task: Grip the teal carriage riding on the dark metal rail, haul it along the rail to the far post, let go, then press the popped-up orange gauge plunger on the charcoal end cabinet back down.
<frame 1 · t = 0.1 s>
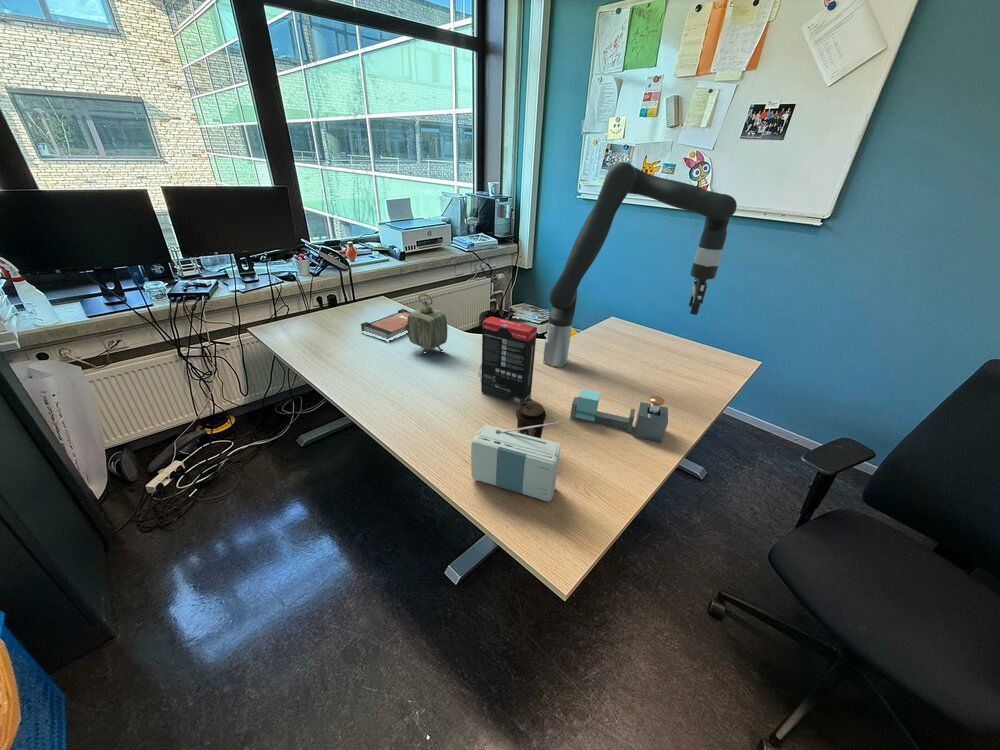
hand: (692, 310, 135), 29 cm above the table, fingers open, 8 cm apart
tabletop clock: (428, 352, 166), on the table
cabinet: (648, 433, 121), on the table
male figure: (491, 369, 155), on the table
graphics card box: (505, 396, 138), on the table
book: (396, 330, 187), on the table
rail: (600, 422, 125), on the table
plunger: (654, 409, 117), point 9 cm above the table, slide at 0.0 cm
carriage: (587, 404, 124), point 5 cm above the table, slide at 0.0 cm
coffee cup: (528, 445, 114), on the table
stereo radio cassette player: (513, 484, 101), on the table
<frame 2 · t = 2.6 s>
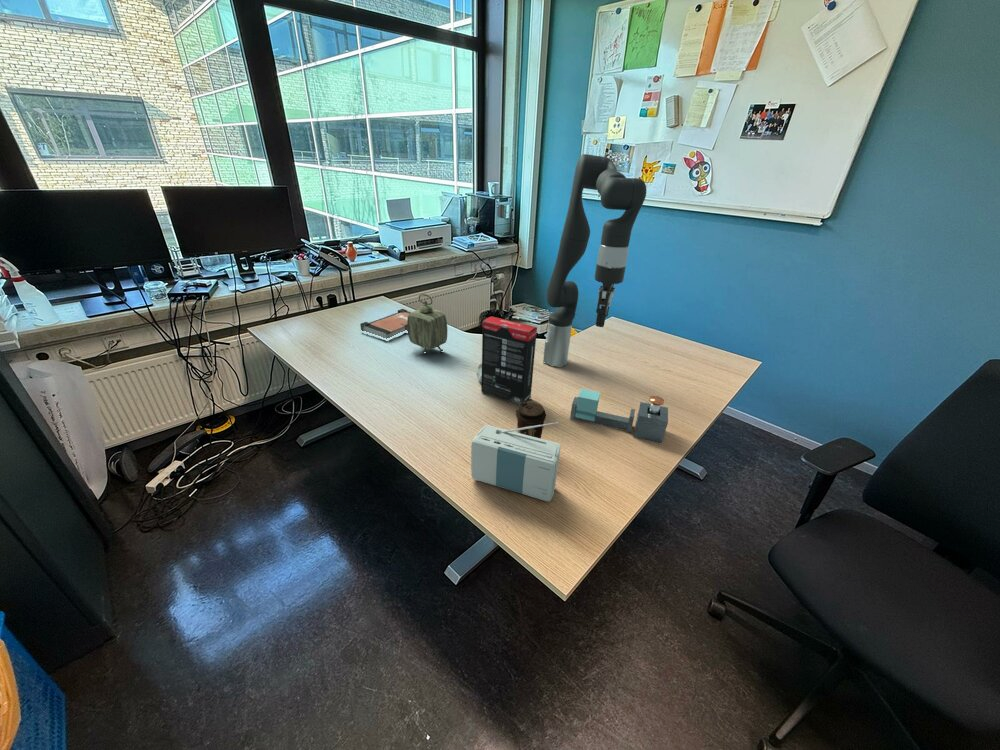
hand: (601, 321, 111), 33 cm above the table, fingers open, 8 cm apart
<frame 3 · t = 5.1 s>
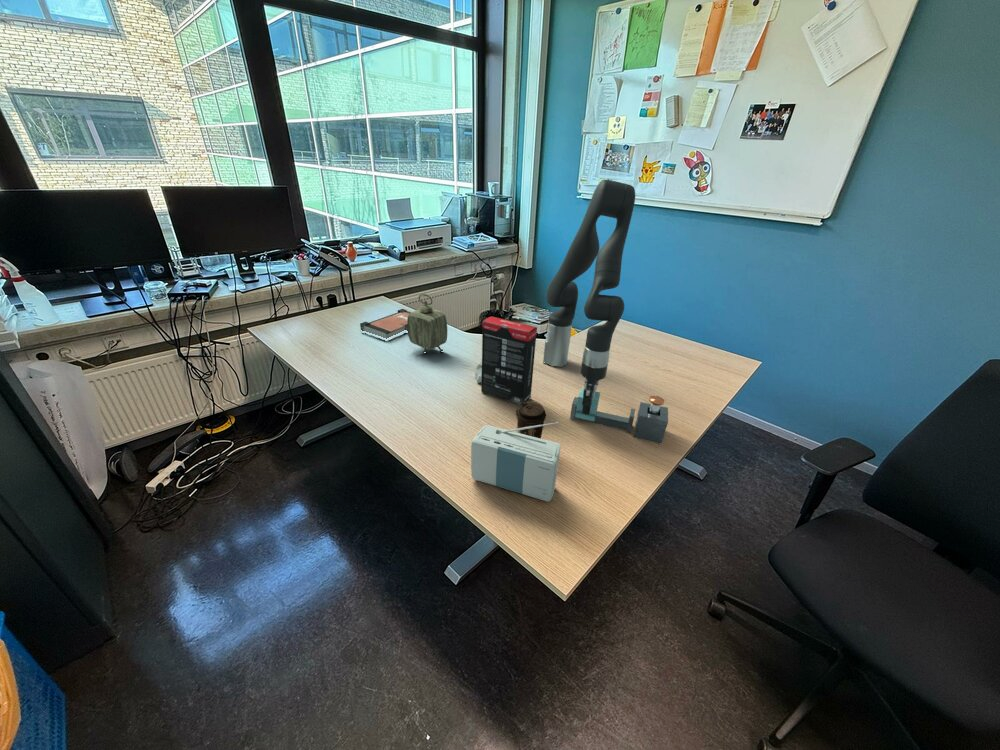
hand: (587, 408, 125), 4 cm above the table, fingers closed on carriage, 5 cm apart
carriage: (587, 404, 124), point 5 cm above the table, slide at 0.0 cm, touching gripper
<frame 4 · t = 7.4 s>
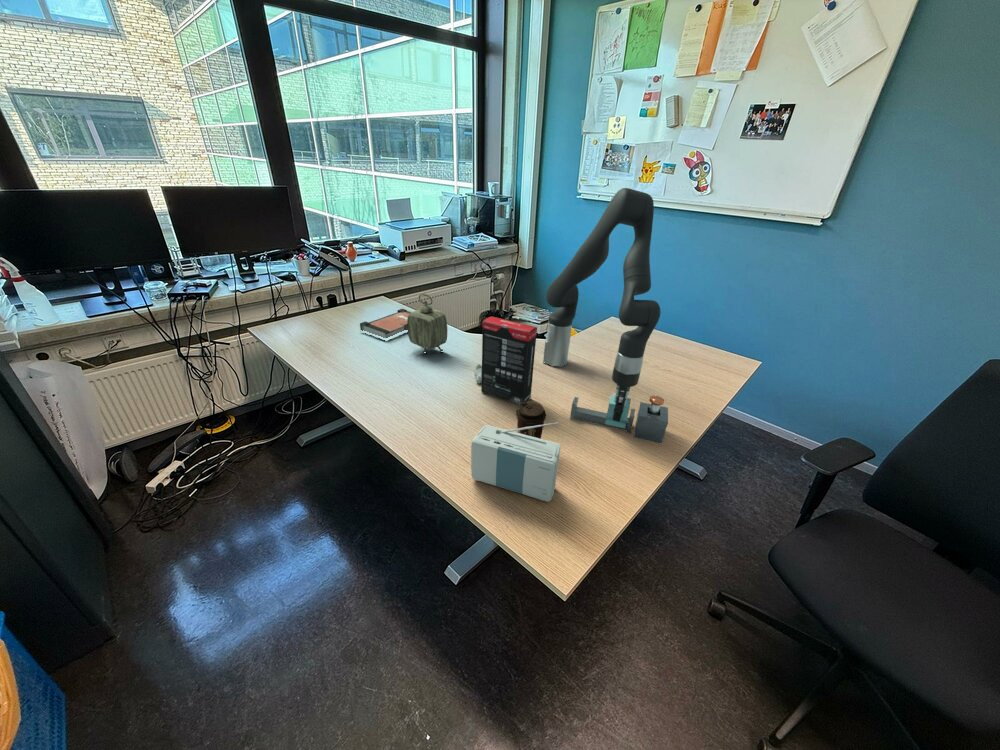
hand: (617, 415, 122), 4 cm above the table, fingers closed on carriage, 5 cm apart
carriage: (617, 411, 122), point 5 cm above the table, slide at 9.3 cm, touching gripper
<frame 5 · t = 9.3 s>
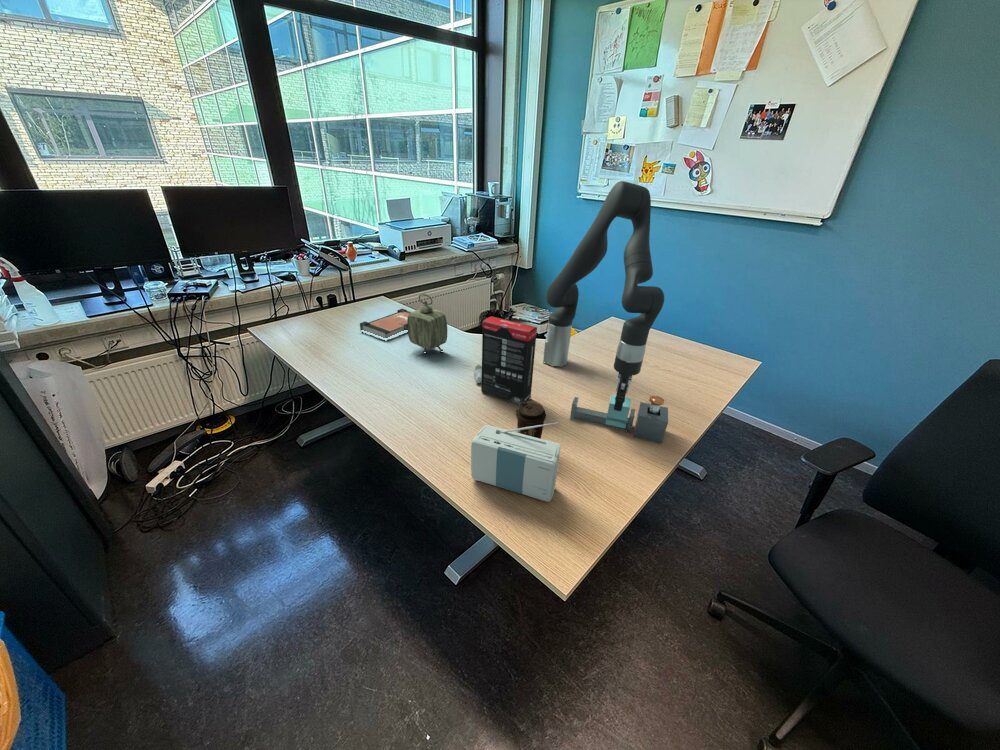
hand: (618, 402, 120), 8 cm above the table, fingers open, 8 cm apart
carriage: (618, 411, 122), point 5 cm above the table, slide at 9.4 cm
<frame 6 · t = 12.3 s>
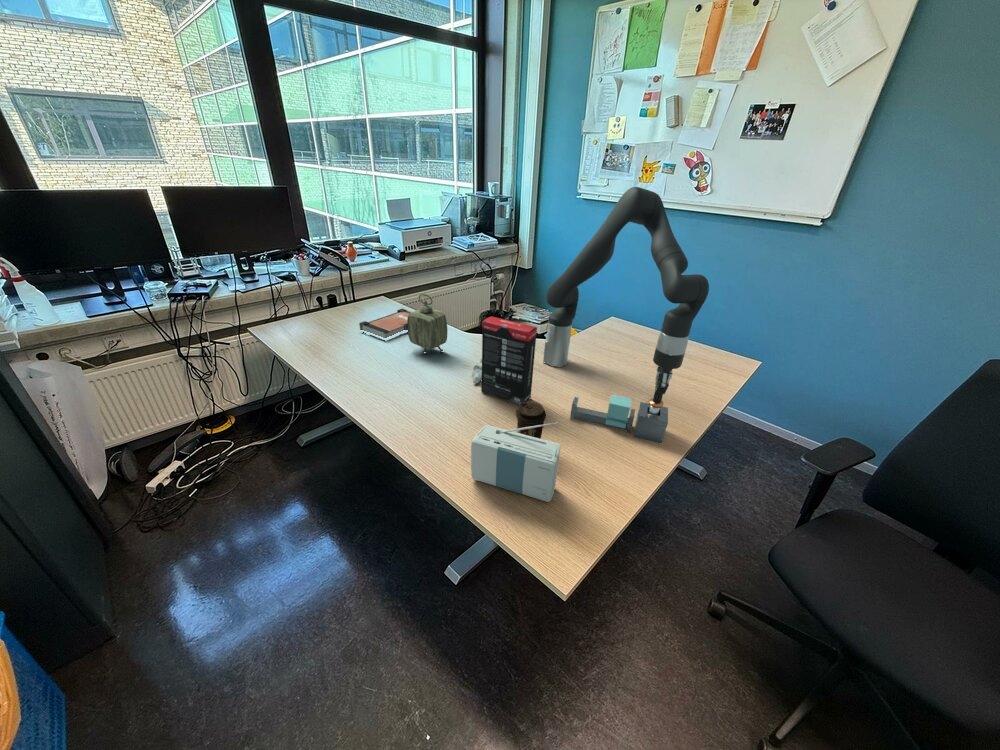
hand: (656, 401, 116), 11 cm above the table, fingers closed
plunger: (653, 411, 117), point 8 cm above the table, slide at 0.9 cm, touching gripper
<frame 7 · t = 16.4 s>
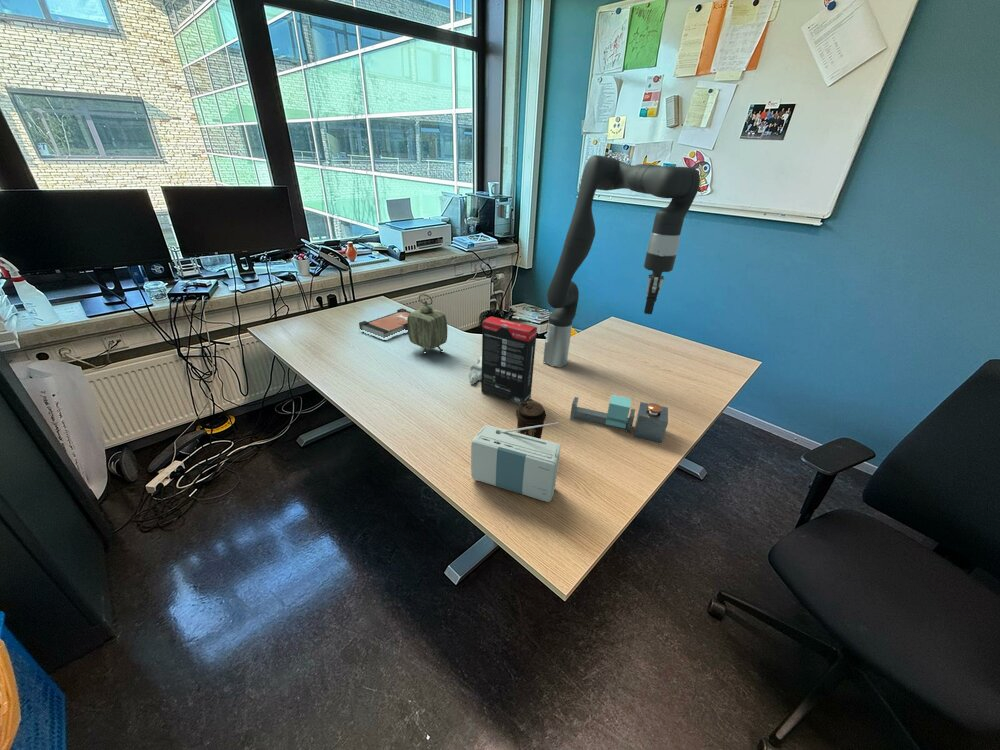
hand: (647, 313, 113), 35 cm above the table, fingers closed
plunger: (652, 416, 118), point 6 cm above the table, slide at 2.7 cm
at the end: carriage slide at 9.4 cm; plunger slide at 2.7 cm; the gripper is holding nothing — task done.
